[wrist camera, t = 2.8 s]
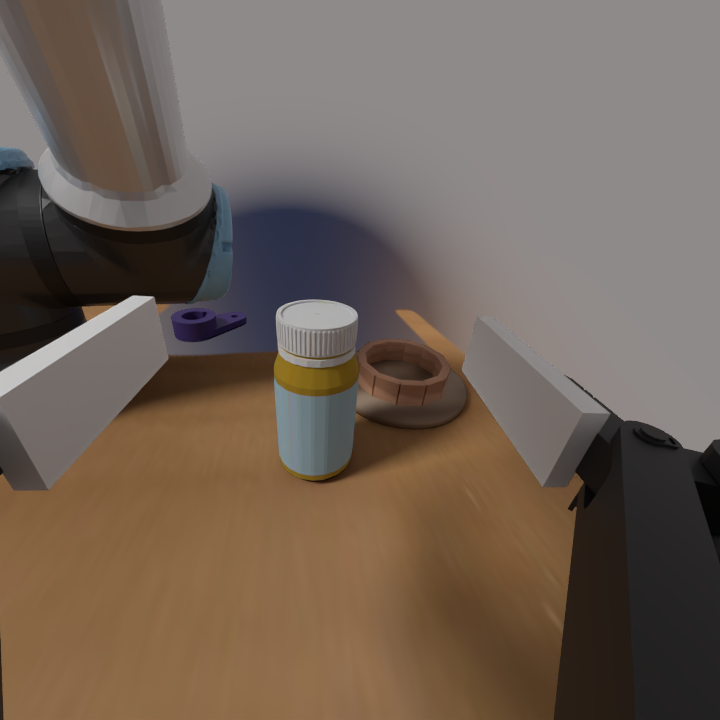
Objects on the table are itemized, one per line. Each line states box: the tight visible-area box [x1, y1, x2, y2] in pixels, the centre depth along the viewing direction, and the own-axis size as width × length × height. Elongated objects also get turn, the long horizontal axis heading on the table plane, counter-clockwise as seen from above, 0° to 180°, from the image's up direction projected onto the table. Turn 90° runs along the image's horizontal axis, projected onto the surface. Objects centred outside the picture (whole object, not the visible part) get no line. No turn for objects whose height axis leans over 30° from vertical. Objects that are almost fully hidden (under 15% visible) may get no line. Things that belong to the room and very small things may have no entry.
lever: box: [171, 308, 246, 342], centre depth 53 cm, size 12×6×3 cm, turn 141°
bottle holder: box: [355, 339, 467, 429], centre depth 43 cm, size 18×18×4 cm
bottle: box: [274, 300, 359, 481], centre depth 28 cm, size 7×7×15 cm
